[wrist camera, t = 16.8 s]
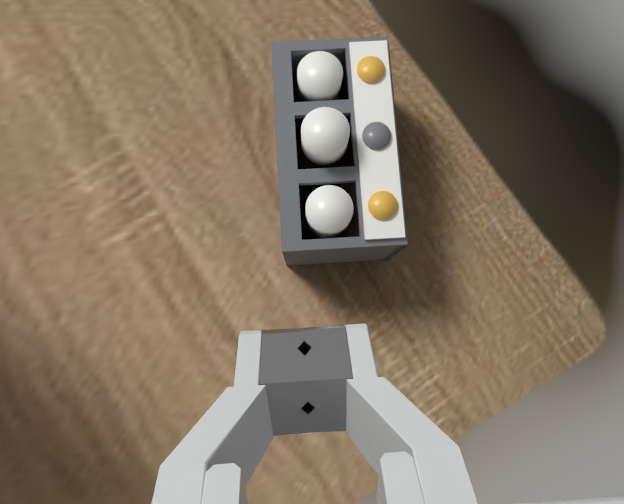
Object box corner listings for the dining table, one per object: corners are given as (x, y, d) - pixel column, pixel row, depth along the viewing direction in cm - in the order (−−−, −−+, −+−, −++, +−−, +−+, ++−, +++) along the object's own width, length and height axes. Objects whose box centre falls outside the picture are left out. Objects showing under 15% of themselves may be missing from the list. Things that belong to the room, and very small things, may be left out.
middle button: (348, 163, 37) (351, 152, 35) (302, 166, 37) (302, 154, 35) (345, 120, 38) (348, 105, 35) (299, 122, 38) (299, 108, 35)
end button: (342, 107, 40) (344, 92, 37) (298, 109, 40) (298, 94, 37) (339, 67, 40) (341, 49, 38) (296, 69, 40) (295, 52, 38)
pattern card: (404, 237, 36) (405, 236, 35) (364, 240, 36) (365, 238, 35) (386, 42, 38) (387, 38, 38) (349, 44, 38) (349, 40, 38)
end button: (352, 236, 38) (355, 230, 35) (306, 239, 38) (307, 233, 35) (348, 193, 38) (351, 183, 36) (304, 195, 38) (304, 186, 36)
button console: (389, 259, 44) (407, 244, 36) (286, 265, 43) (282, 251, 35) (374, 86, 46) (388, 36, 38) (277, 91, 46) (271, 42, 38)
